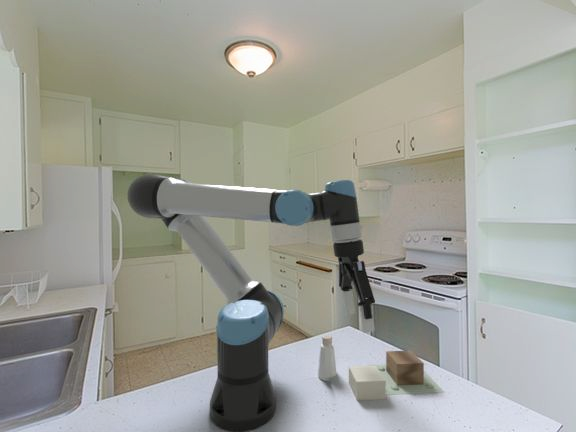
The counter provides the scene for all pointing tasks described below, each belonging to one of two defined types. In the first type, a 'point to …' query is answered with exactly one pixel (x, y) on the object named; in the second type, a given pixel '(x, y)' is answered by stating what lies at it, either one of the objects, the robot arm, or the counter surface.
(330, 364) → the pepper shaker
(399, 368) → the brick
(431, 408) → the counter surface
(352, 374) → the brick
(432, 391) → the base plate
